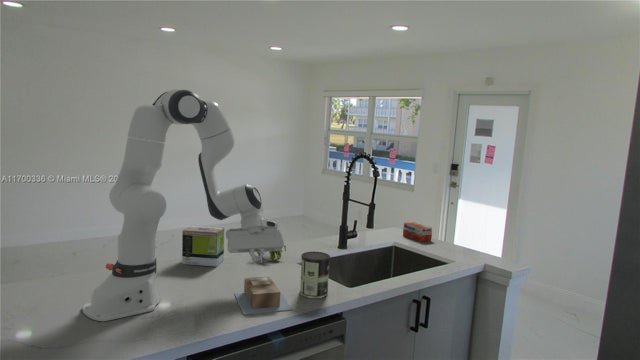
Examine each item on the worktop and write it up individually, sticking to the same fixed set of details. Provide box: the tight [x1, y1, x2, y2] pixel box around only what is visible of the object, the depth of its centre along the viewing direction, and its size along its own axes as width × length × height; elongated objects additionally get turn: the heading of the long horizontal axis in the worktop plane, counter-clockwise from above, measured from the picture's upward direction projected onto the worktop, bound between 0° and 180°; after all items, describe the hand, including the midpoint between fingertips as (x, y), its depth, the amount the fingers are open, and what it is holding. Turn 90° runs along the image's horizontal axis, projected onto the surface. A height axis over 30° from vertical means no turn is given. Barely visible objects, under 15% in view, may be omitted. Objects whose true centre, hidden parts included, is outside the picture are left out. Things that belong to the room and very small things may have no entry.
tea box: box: [181, 225, 225, 267], centre depth 184 cm, size 15×10×15 cm, turn 84°
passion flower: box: [256, 245, 287, 263], centre depth 196 cm, size 13×12×14 cm
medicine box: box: [402, 221, 433, 243], centre depth 246 cm, size 15×8×8 cm, turn 32°
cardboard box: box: [243, 276, 281, 309], centre depth 149 cm, size 9×5×15 cm
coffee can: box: [299, 251, 331, 299], centre depth 157 cm, size 10×10×14 cm
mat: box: [234, 291, 293, 316], centre depth 147 cm, size 17×16×1 cm
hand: (258, 261), depth 154 cm, fingers closed
